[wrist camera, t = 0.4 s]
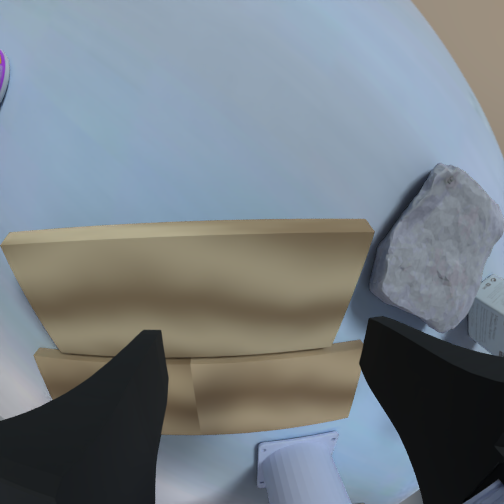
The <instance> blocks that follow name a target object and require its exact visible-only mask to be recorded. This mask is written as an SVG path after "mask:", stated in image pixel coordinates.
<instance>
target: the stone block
mask: <svg viewBox="0 0 504 504" xmlns="http://www.w3.org/2000/svg"><path fill="white" fill-rule="evenodd" d="M503 232H504V218H503V215H502V212H501V210H500V208H499V205H498V204H496V202H495V201H493V200H492V199H491V198H490V197H489V195H488V194H487V193H486V192H485V191H484V190H483V188H482V187H481V186H480V185H479V184H478V183H477V182H476V181H475V180H474V179H473V178H472V177H470V176H469V175H468V174H467V173H466V172H465V171H463V170H461V169H460V168H458V167H454V166H452V165H444V164H442V163H438V164H437V165H436V166H435V167H434V169H433V170H432V171H431V172H430V175H429V177H428V179H427V180H426V181H425V183H424V185H423V187H422V188H421V190H420V191H419V193H418V194H417V196H415V197H414V198H413V200H412V201H411V202H410V204H409V206H408V208H407V209H405V210H404V211H403V213H402V214H401V216H400V218H399V219H398V220H397V222H396V223H395V224H394V225H393V226H392V228H391V230H390V231H389V233H388V234H387V236H386V237H385V238H384V239H383V240H382V241H381V243H380V244H379V246H378V247H377V252H376V257H375V261H374V265H373V269H372V274H371V277H370V282H369V290H370V291H371V292H372V293H373V294H374V295H375V296H377V297H378V298H379V299H381V300H382V302H384V303H386V304H387V305H392V306H395V307H397V308H399V309H401V310H404V311H406V312H409V313H411V314H413V315H416V316H418V317H419V318H420V319H422V320H423V322H425V323H426V324H427V325H428V326H429V327H431V328H433V329H435V330H436V331H437V332H439V333H444V332H447V331H448V330H450V329H454V328H455V327H456V326H457V325H458V324H459V322H461V320H463V319H464V318H465V317H466V315H467V314H468V312H469V310H470V308H471V306H472V304H473V301H474V299H475V297H476V295H477V292H478V290H479V288H480V285H481V280H482V274H483V269H484V266H485V263H486V260H487V258H488V257H489V256H490V254H491V251H492V248H493V246H494V245H495V243H496V242H497V241H498V240H499V239H500V238H501V236H502V235H503Z"/></svg>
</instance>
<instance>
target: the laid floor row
mask: <svg viewBox="0 0 504 504" xmlns="http://www.w3.org/2000/svg"><path fill="white" fill-rule="evenodd" d="M362 348H363V343H362V342H361V340H355V341H348V342H341V343H334V344H332V346H331V347H324V348H316V349H307V350H298V351H289V352H278V353H266V354H253V355H237V356H217V357H172V358H166V365H167V371H168V376H169V383H168V398H167V406H166V411H165V417H164V422H163V427H162V432H161V435H217V434H236V433H250V432H260V431H270V430H278V429H286V428H293V427H300V426H306V425H312V424H318V423H324V422H329V421H334V420H339V419H343V418H348V416H349V412H350V409H351V406H352V402H353V399H354V395H355V391H356V388H357V384H358V380H359V376H360V372H361V367H360V365H359V361H360V357H361V353H362ZM114 357H115V356H100V355H85V354H72V353H62V352H61V351H60V350H57V349H48V348H39V349H38V350H37V352H36V353H35V354H34V358H35V360H36V363H37V365H38V368H39V370H40V373H41V375H42V377H43V380H44V382H45V384H46V386H47V389H48V391H49V393H50V395H51V397H52V399H53V400H54V399H56V398H58V397H59V396H61V395H63V394H65V393H67V392H68V391H70V390H71V389H73V388H75V387H76V386H78V385H79V384H81V383H82V382H84V381H85V380H86V379H88V378H89V377H91V376H92V375H93V374H94V373H96V372H97V371H98V370H99V369H100V368H102V367H103V366H104V365H105V364H107V363H108V362H109V361H110V360H111V359H112V358H114Z"/></svg>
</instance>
